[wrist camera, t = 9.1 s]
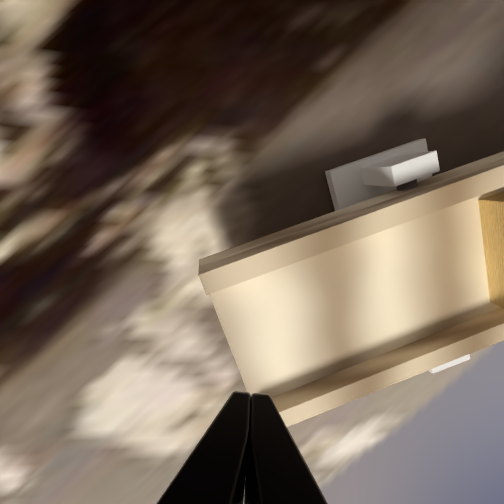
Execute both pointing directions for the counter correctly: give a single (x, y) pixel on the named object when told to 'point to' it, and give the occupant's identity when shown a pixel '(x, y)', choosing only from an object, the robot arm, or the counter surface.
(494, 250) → the block
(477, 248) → the beam
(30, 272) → the counter surface
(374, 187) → the fulcrum
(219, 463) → the robot arm
